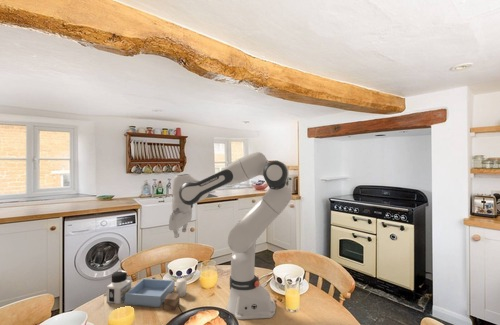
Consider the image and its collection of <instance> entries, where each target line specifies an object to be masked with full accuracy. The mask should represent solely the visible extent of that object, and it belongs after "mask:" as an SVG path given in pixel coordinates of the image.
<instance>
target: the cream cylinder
mask: <svg viewBox="0 0 500 325" xmlns="http://www.w3.org/2000/svg"><path fill="white" fill-rule="evenodd" d="M187 281H188V280H187V278H184V277H181V278H178V279H176V282H175V286H176V287H175V289H176V290H175V292H176V294H179V298H183V297H185V296H186V295H187Z"/></svg>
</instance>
